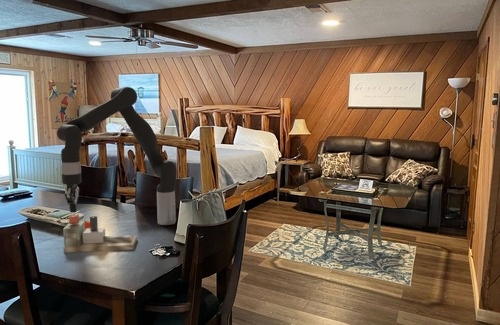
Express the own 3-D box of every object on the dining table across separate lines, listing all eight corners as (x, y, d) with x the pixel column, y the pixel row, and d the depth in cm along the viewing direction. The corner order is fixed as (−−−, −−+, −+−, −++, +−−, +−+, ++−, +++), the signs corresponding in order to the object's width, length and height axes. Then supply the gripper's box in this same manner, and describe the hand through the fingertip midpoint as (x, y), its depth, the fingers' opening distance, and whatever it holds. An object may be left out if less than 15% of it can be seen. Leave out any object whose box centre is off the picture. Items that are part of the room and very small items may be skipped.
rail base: (136, 239, 176) (136, 218, 174) (133, 249, 164) (132, 227, 163) (72, 242, 172) (71, 221, 170) (63, 252, 160) (62, 229, 158)
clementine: (77, 233, 184) (76, 218, 183) (92, 231, 187) (92, 217, 186) (77, 238, 177) (76, 223, 176) (93, 236, 179) (92, 222, 178)
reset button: (80, 221, 167) (80, 214, 166) (77, 224, 163) (77, 217, 162) (70, 221, 166) (70, 214, 166) (67, 224, 162) (67, 217, 162)
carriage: (105, 238, 171) (104, 214, 169) (102, 243, 165) (101, 218, 163) (86, 239, 169) (85, 215, 168) (83, 244, 164) (81, 219, 162)
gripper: (76, 174, 155) (78, 216, 158) (84, 169, 168) (86, 207, 171) (56, 175, 154) (59, 216, 157) (66, 169, 167) (69, 208, 170)
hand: (73, 212), depth 164 cm, fingers closed
